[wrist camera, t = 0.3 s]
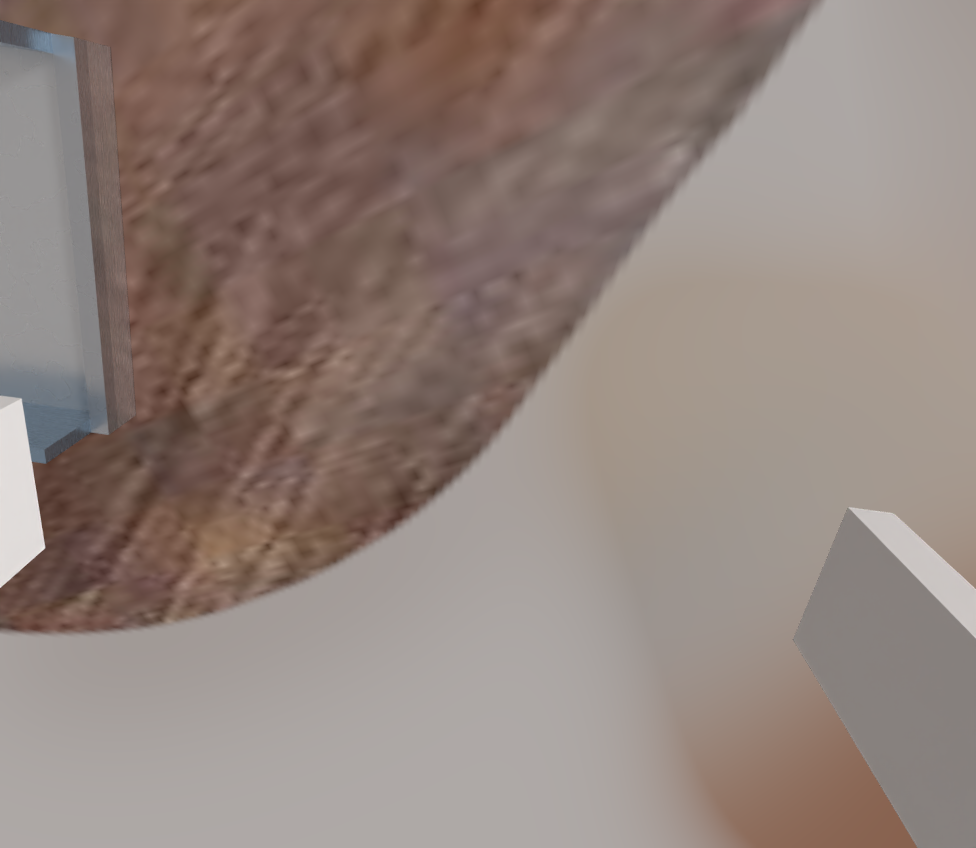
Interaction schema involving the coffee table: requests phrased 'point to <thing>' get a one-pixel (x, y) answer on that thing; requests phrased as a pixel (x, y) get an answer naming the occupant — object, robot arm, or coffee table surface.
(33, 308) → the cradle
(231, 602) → the coffee table surface
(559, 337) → the coffee table surface
